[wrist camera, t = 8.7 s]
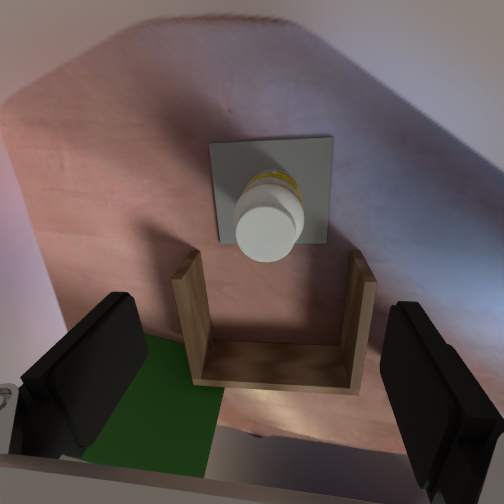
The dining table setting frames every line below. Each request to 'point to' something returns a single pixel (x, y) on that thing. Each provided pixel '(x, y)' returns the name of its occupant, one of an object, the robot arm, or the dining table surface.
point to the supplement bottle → (268, 216)
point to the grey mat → (280, 158)
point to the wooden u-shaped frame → (276, 354)
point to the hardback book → (160, 418)
